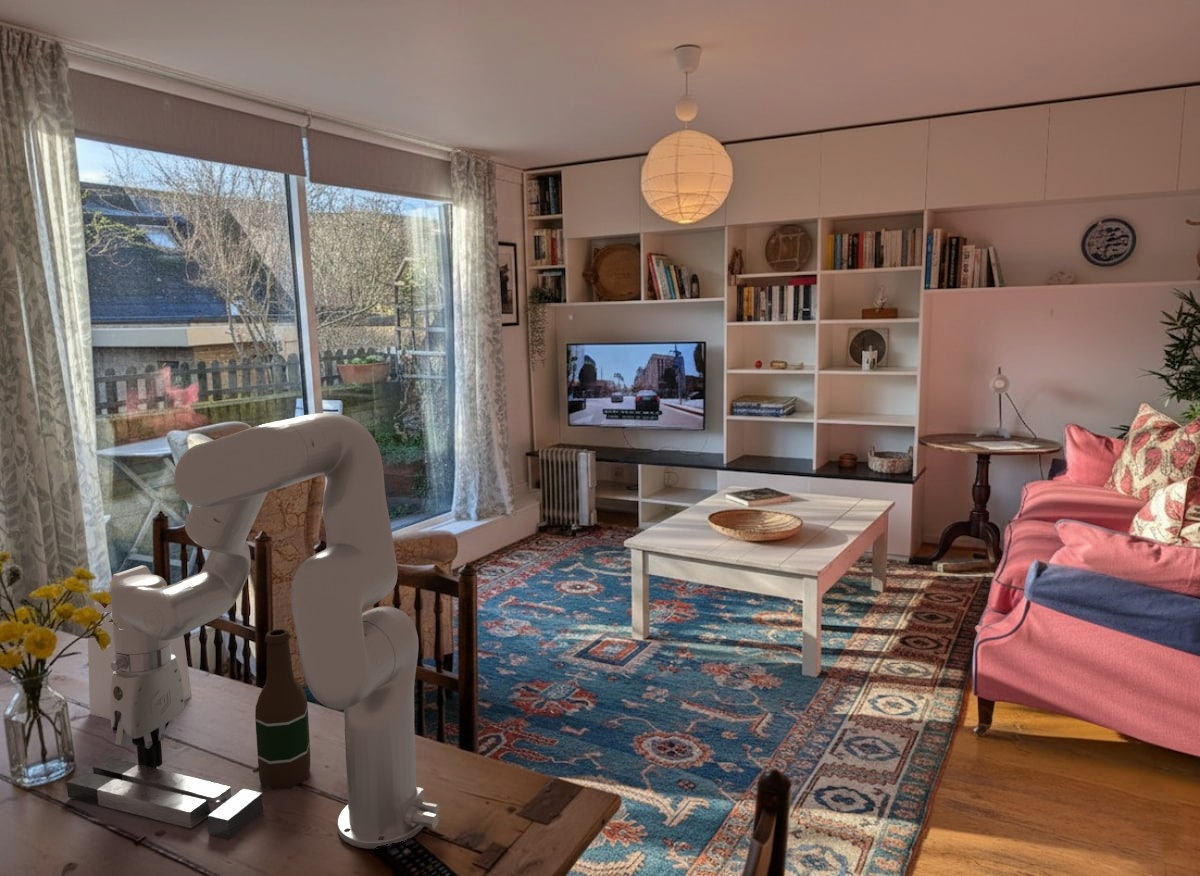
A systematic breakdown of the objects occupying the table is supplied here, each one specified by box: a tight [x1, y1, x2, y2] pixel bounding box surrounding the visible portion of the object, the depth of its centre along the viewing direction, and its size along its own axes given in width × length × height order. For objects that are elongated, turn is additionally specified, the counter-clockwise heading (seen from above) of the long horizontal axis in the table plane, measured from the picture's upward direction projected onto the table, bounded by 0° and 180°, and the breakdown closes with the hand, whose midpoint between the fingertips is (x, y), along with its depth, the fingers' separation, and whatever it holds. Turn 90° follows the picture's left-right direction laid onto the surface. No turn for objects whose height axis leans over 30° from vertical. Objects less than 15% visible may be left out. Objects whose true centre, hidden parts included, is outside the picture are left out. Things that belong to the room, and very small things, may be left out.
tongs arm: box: [92, 756, 232, 815], centre depth 123 cm, size 26×5×2 cm, turn 70°
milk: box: [87, 564, 193, 720], centre depth 150 cm, size 12×12×26 cm
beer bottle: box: [254, 628, 311, 791], centre depth 127 cm, size 8×8×24 cm
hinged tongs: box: [66, 771, 264, 841], centre depth 121 cm, size 30×7×3 cm, turn 72°
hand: (150, 765), depth 129 cm, fingers closed
